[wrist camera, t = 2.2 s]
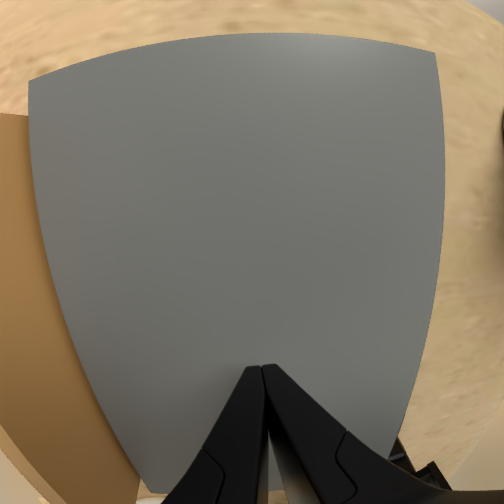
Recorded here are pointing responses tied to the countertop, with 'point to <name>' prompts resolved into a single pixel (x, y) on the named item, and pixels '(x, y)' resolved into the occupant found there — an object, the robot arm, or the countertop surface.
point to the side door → (46, 359)
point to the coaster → (150, 500)
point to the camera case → (242, 228)
